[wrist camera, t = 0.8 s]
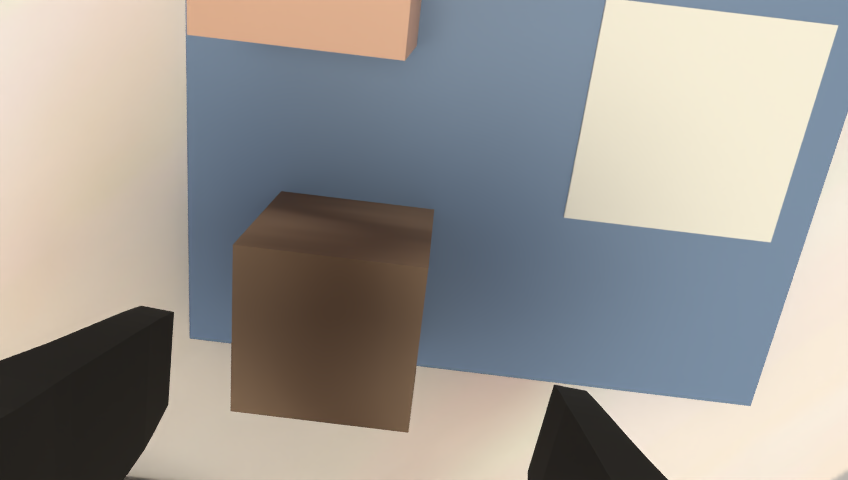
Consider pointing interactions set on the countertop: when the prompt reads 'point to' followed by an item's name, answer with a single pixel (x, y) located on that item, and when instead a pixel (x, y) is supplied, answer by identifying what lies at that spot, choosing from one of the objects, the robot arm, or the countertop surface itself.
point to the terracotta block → (312, 24)
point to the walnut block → (329, 310)
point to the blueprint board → (549, 176)
